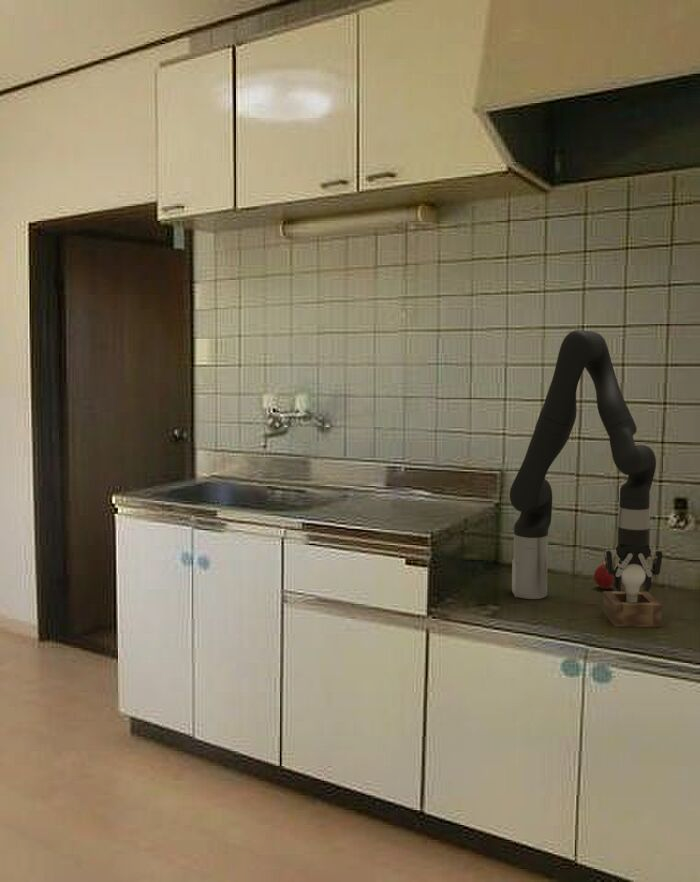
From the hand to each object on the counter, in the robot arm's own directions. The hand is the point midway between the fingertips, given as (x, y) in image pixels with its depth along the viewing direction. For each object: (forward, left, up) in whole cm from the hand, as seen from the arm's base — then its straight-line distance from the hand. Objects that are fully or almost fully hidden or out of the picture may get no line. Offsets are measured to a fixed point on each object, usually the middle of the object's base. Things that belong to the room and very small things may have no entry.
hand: (632, 590), depth 198 cm
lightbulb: (0, 0, -4) cm, 4 cm away
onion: (0, +26, -8) cm, 27 cm away
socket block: (0, 0, -7) cm, 7 cm away
